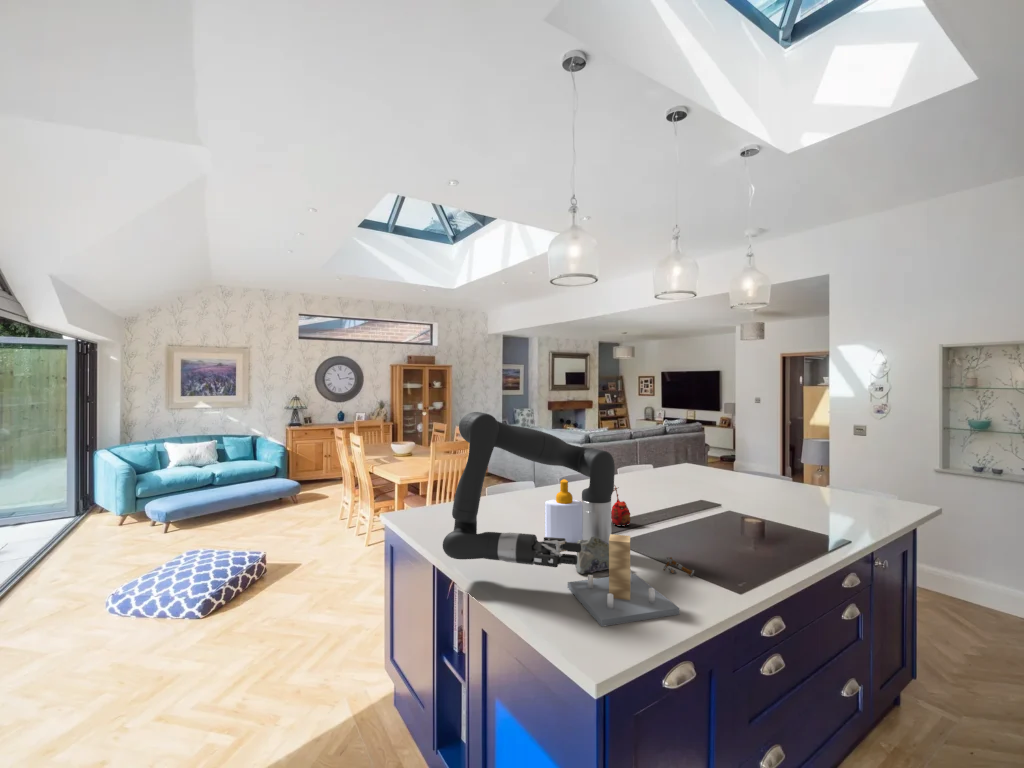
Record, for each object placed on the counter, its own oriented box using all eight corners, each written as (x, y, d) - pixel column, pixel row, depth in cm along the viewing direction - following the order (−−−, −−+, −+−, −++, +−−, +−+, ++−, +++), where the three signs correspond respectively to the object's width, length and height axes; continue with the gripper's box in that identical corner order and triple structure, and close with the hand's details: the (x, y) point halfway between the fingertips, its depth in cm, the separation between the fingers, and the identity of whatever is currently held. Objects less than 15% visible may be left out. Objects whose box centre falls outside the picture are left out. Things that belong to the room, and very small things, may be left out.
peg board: (567, 587, 121) (567, 570, 121) (635, 579, 126) (634, 562, 126) (601, 626, 102) (601, 606, 102) (679, 614, 107) (679, 595, 107)
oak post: (609, 597, 112) (609, 540, 112) (610, 588, 117) (610, 534, 117) (630, 600, 111) (629, 542, 111) (630, 591, 116) (630, 535, 116)
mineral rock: (622, 566, 135) (622, 532, 135) (618, 581, 125) (618, 544, 125) (579, 561, 139) (579, 528, 139) (572, 574, 129) (572, 539, 129)
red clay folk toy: (621, 529, 170) (620, 489, 170) (606, 524, 175) (606, 485, 175) (634, 525, 174) (634, 486, 174) (620, 521, 180) (619, 483, 180)
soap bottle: (582, 536, 162) (582, 479, 162) (584, 544, 153) (584, 484, 153) (545, 535, 163) (545, 478, 163) (544, 543, 155) (544, 483, 155)
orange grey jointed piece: (660, 566, 133) (667, 553, 132) (687, 582, 129) (694, 569, 129) (659, 569, 131) (666, 555, 130) (687, 585, 128) (694, 571, 127)
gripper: (510, 542, 114) (575, 548, 110) (523, 525, 127) (582, 530, 123) (510, 573, 114) (576, 580, 110) (523, 552, 127) (582, 558, 123)
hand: (579, 553), depth 116 cm, fingers open, 8 cm apart
